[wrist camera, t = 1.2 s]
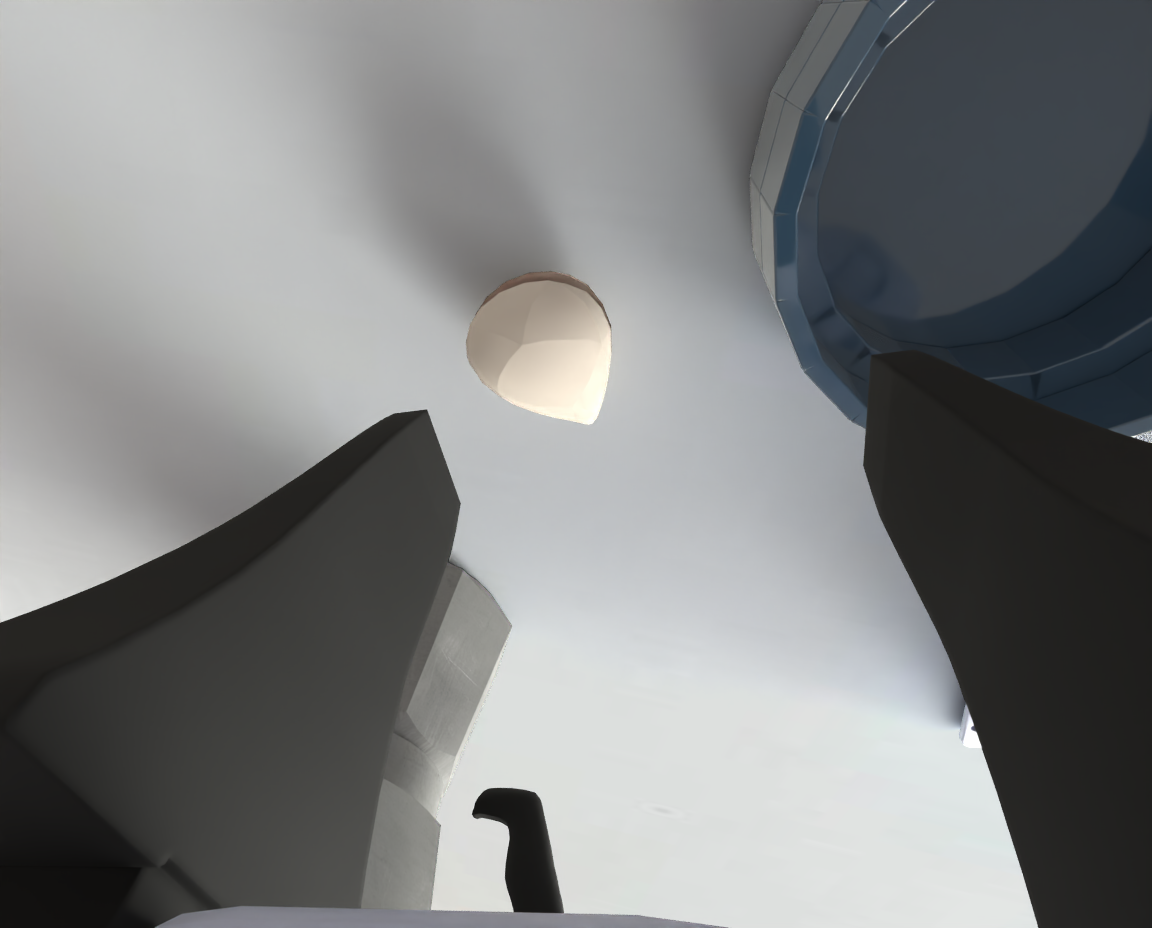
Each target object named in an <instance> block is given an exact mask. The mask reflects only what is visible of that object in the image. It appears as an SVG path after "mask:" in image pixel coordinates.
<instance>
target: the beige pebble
mask: <svg viewBox="0 0 1152 928" xmlns="http://www.w3.org/2000/svg"><path fill="white" fill-rule="evenodd" d="M466 349H467V358H468V361H469V363H470V365H471V366H472V368H473V369H474V371H475V372H476V374H477V375H478V377H479V378H480V380H481V381H482V383H483V384H484V385H486V386H487V387H488V388H490V389H491V390H492V391H493V392H495V393H496V394H497V395H499V396H500V397H502V398H503V399H505V400H507V401H509V402H510V403H512V404H514V405H516V406H518V407H521V408H524V409H527V410H530V411H532V412H535V413H538V414H542V415H546V416H550V417H554V418H558V419H564V420H569V421H574V422H578V423H582V424H592V423H593V422H594V421H595V420H596V418H597V417H598V414H599V411H600V409H601V405H602V402H603V399H604V395H605V390H606V386H607V382H608V377H609V369H610V359H611V324H610V322H609V319H608V317H607V314H606V312H605V309H604V307H603V304H602V303H601V301H600V300H599V299H598V298H597V296H596V295H595V294H594V292H593V291H592V290H591V289H590V287H589V286H588V285H587V284H585V283H583V282H581V281H580V280H578V279H576V278H574V277H573V276H571V275H568V274H563V273H557V272H552V271H549V272H533V273H527V274H524V275H522V276H519V277H517V278H514V279H511V280H509V281H506V282H505V283H503V284H502V285H501V286H500V287H499V288H497V289H496V290H495V291H494V292H492V293H491V294H490V295H489V296H488V297H487V298H486V299H485V301H484V302H483V304H482V305H481V307H480V309H479V310H478V312H477V313H476V315H475V317H474V319H473V321H472V322H471V324H470V327H469V331H468V336H467V341H466Z"/></svg>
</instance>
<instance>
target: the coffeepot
mask: <svg viewBox="0 0 1152 928" xmlns="http://www.w3.org/2000/svg"><path fill="white" fill-rule="evenodd" d="M511 628H512V625H511V623H510V622H509V620H508V619H507V617H506V616H505V614H504V613H503V611H502V610H501V608H500V607H499V605H498V604H497V603H496V601H495V600H494V598H493V597H492V595H491V594H490V593H489V592H488V591H487V590H486V589H485V588H484V587H483V586H482V585H481V584H480V583H479V582H478V581H477V580H475V579H474V578H473V577H471V576H470V575H468V574H467V573H466V572H465V571H464V570H463V569H461V568H459V567H456V566H454V565H452V564H450V563H447V566H446V568H445V571H444V574H443V577H442V580H441V582H440V585H439V588H438V591H437V594H436V596H435V599H434V602H433V604H432V607H431V610H430V613H429V615H428V618H427V621H426V624H425V626H424V629H423V632H422V634H421V637H420V640H419V643H418V645H417V648H416V651H415V654H414V656H413V659H412V662H411V665H410V669H409V672H408V675H407V678H406V681H405V685H404V689H403V693H402V697H401V701H400V705H399V709H398V714H397V718H396V722H395V726H394V730H393V734H392V738H391V743H390V748H389V753H388V757H387V762H386V767H385V772H384V776H383V781H382V786H381V791H380V795H379V801H378V806H377V812H376V818H375V823H374V829H373V835H372V840H371V846H370V852H369V857H368V863H367V869H366V876H365V883H364V890H363V897H362V904H361V909H393V910H431V903H432V895H433V886H434V878H435V869H436V861H437V852H438V844H439V835H440V827H441V825H440V824H439V823H438V822H437V821H436V817H437V813H438V810H439V806H440V803H441V799H442V797H444V796H445V793H446V791H447V789H448V786H449V784H450V782H451V779H452V777H453V775H454V773H455V770H456V768H457V766H458V763H459V761H460V759H461V756H462V754H463V752H464V749H465V747H466V745H467V742H468V740H469V738H470V736H471V733H472V731H473V729H474V726H475V724H476V722H477V719H478V717H479V715H480V712H481V710H482V708H483V705H484V703H485V701H486V698H487V696H488V694H489V692H490V689H491V687H492V685H493V682H494V680H495V678H496V675H497V672H498V669H499V666H500V662H501V659H502V656H503V653H504V650H505V647H506V643H507V640H508V637H509V634H510V631H511ZM472 815H473V817H474V818H476V819H478V818H486V819H491V820H495V821H498V822H502V823H503V824H505V825H506V826H508V828H509V836H510V840H509V846H508V852H507V859H506V868H505V880H506V885H507V889H508V893H509V896H510V899H511V902H512V906H513V910H514V912H522V913H564V910H563V904H562V899H561V895H560V891H559V886H558V880H557V876H556V872H555V867H554V862H553V856H552V850H551V845H550V840H549V835H548V830H547V826H546V821H545V816H544V812H543V807H542V803H541V800H540V798H539V797H538V796H537V794H536V793H534V792H531V791H527V790H521V789H514V788H490V789H487V790H485V791H484V792H482V794H481V795H480V796H479V797H478V799H477V801H476V803H475V806H474V809H473V812H472Z"/></svg>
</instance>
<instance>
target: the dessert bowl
mask: <svg viewBox="0 0 1152 928" xmlns="http://www.w3.org/2000/svg"><path fill="white" fill-rule="evenodd" d="M772 90H773V91H771V93H770V96H769V100H768V104H767V108H766V112H765V115H764V119H763V123H762V127H761V131H760V135H759V139H758V143H757V147H756V150H755V154H754V158H753V162H752V166H751V170H750V178H749V183H750V206H751V229H752V247H753V252H754V255H755V257H756V260H757V262H758V265H759V267H760V270H761V272H762V275H763V277H764V280H765V282H766V285H767V287H768V290H769V292H770V295H771V297H772V300H773V302H774V305H775V307H776V310H777V312H778V314H779V317H780V319H781V321H782V324H783V326H784V328H785V331H786V333H787V335H788V338H789V340H790V343H791V345H792V347H793V350H794V352H795V354H796V357H797V359H798V361H799V364H800V366H801V368H802V370H803V371H804V373H805V374H806V375H807V376H808V377H809V378H810V379H811V380H812V381H813V382H814V384H815V385H816V386H817V387H818V388H819V389H820V390H821V391H822V392H823V393H824V394H825V395H826V396H827V397H828V398H829V399H830V400H831V401H832V403H833V404H834V405H835V406H836V407H837V408H838V409H839V410H840V411H841V412H842V413H843V414H844V415H845V416H846V417H847V418H848V419H849V420H851V421H852V422H853V423H855V424H857V425H859V426H861V427H863V428H865V429H866V420H867V405H868V390H869V376H870V361H871V355H874V354H882V353H891V352H899V351H907V350H917V351H920V352H923V353H926V354H929V355H931V356H934V357H936V358H939V359H941V360H943V361H946V362H948V363H950V364H952V365H955V366H957V367H959V368H961V369H963V370H966V371H968V372H970V373H972V374H974V375H977V376H979V377H981V378H983V379H985V380H988V381H990V382H992V383H994V384H996V385H999V386H1001V387H1003V388H1005V389H1008V390H1010V391H1012V392H1014V393H1017V394H1019V395H1021V396H1024V397H1026V398H1028V399H1031V400H1033V401H1036V402H1038V403H1040V404H1043V405H1045V406H1048V407H1050V408H1053V409H1055V410H1058V411H1060V412H1063V413H1066V414H1068V415H1071V416H1074V417H1076V418H1079V419H1081V420H1084V421H1087V422H1089V423H1092V424H1095V425H1097V426H1100V427H1103V428H1106V429H1108V430H1111V431H1114V432H1117V433H1120V434H1123V435H1126V436H1129V437H1135V436H1138V435H1141V434H1144V433H1148V432H1151V431H1152V0H823V1H822V3H821V4H820V5H819V6H818V8H817V10H816V12H815V13H814V15H813V17H812V19H811V21H810V22H809V24H808V26H807V28H806V29H805V31H804V33H803V35H802V36H801V38H800V40H799V42H798V44H797V45H796V47H795V49H794V51H793V52H792V54H791V56H790V58H789V60H788V61H787V63H786V65H785V67H784V68H783V70H782V72H781V74H780V76H779V77H778V79H777V81H776V83H775V84H774V86H773V89H772Z"/></svg>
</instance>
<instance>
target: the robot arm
mask: <svg viewBox="0 0 1152 928" xmlns="http://www.w3.org/2000/svg"><path fill="white" fill-rule="evenodd" d="M863 466H864V469H865V472H866V476H867V479H868V482H869V485H870V489H871V492H872V495H873V498H874V501H875V504H876V507H877V510H878V513H879V516H880V518H881V520H882V522H883V524H884V526H885V529H886V531H887V533H888V535H889V537H890V539H891V541H892V543H893V545H894V547H895V549H896V551H897V553H898V555H899V557H900V559H901V561H902V563H903V565H904V567H905V569H906V571H907V573H908V575H909V577H910V579H911V580H912V582H913V584H914V586H915V588H916V590H917V592H918V594H919V596H920V598H921V600H922V602H923V604H924V606H925V608H926V610H927V612H928V614H929V616H930V618H931V620H932V622H933V624H934V626H935V628H936V630H937V632H938V634H939V636H940V639H941V641H942V643H943V645H944V648H945V650H946V652H947V654H948V657H949V659H950V661H951V664H952V667H953V669H954V672H955V675H956V678H957V680H958V683H959V686H960V688H961V691H962V694H963V697H964V699H965V702H966V704H965V709H964V713H963V718H962V723H961V727H960V732H959V737H960V740H961V742H962V744H963V745H965V746H968V747H982V750H983V753H984V756H985V759H986V762H987V765H988V768H989V771H990V774H991V776H992V779H993V782H994V785H995V788H996V791H997V794H998V797H999V801H1000V804H1001V807H1002V810H1003V813H1004V816H1005V819H1006V823H1007V826H1008V829H1009V832H1010V835H1011V838H1012V842H1013V845H1014V848H1015V851H1016V854H1017V857H1018V860H1019V864H1020V867H1021V870H1022V873H1023V876H1024V880H1025V883H1026V887H1027V890H1028V894H1029V897H1030V900H1031V904H1032V907H1033V911H1034V914H1035V918H1036V921H1037V924H1038V928H1152V443H1149V442H1145V441H1142V440H1139V439H1136V438H1132V437H1129V436H1126V435H1123V434H1120V433H1117V432H1114V431H1111V430H1108V429H1106V428H1103V427H1100V426H1097V425H1095V424H1092V423H1089V422H1087V421H1084V420H1081V419H1079V418H1076V417H1074V416H1071V415H1068V414H1066V413H1063V412H1060V411H1058V410H1055V409H1053V408H1050V407H1048V406H1045V405H1043V404H1040V403H1038V402H1036V401H1033V400H1031V399H1028V398H1026V397H1024V396H1021V395H1019V394H1017V393H1014V392H1012V391H1010V390H1008V389H1005V388H1003V387H1001V386H999V385H996V384H994V383H992V382H990V381H988V380H985V379H983V378H981V377H979V376H977V375H974V374H972V373H970V372H968V371H966V370H963V369H961V368H959V367H957V366H955V365H952V364H950V363H948V362H946V361H943V360H941V359H939V358H936V357H934V356H931V355H929V354H926V353H923V352H920V351H917V350H907V351H899V352H891V353H882V354H874V355H871V361H870V376H869V390H868V405H867V420H866V434H865V449H864V463H863ZM460 504H461V503H460V500H459V498H458V495H457V492H456V489H455V486H454V484H453V481H452V478H451V475H450V472H449V470H448V467H447V464H446V461H445V458H444V456H443V453H442V450H441V447H440V444H439V442H438V439H437V436H436V433H435V430H434V428H433V425H432V422H431V419H430V416H429V414H428V411H427V410H419V411H411V412H403V413H395V414H392V415H390V416H388V417H386V418H384V419H383V420H381V421H379V422H378V423H376V424H374V425H373V426H371V427H370V428H368V429H367V430H365V431H363V432H362V433H361V434H359V435H358V436H356V437H355V438H353V439H352V440H350V441H349V442H347V443H346V444H345V445H343V446H342V447H340V448H339V449H337V450H336V451H335V452H333V453H332V454H330V455H329V456H327V457H326V458H325V459H323V460H322V461H320V462H319V463H317V464H316V465H315V466H313V467H312V468H310V469H309V470H307V471H306V472H305V473H303V474H302V475H300V476H299V477H297V478H295V479H294V480H292V481H291V482H289V483H288V484H286V485H285V486H283V487H282V488H280V489H279V490H277V491H276V492H274V493H273V494H271V495H269V496H268V497H266V498H265V499H263V500H262V501H260V502H259V503H257V504H256V505H254V506H253V507H251V508H249V509H248V510H246V511H244V512H243V513H241V514H239V515H238V516H236V517H234V518H233V519H231V520H229V521H227V522H226V523H224V524H222V525H220V526H219V527H217V528H215V529H213V530H211V531H209V532H208V533H206V534H204V535H202V536H200V537H198V538H197V539H195V540H193V541H191V542H189V543H187V544H185V545H183V546H181V547H179V548H177V549H175V550H173V551H171V552H169V553H167V554H165V555H163V556H160V557H158V558H156V559H154V560H152V561H150V562H148V563H146V564H143V565H141V566H139V567H137V568H135V569H133V570H131V571H129V572H126V573H124V574H122V575H120V576H118V577H116V578H114V579H111V580H109V581H107V582H104V583H102V584H100V585H97V586H95V587H92V588H90V589H87V590H85V591H83V592H80V593H78V594H75V595H73V596H70V597H68V598H65V599H63V600H60V601H58V602H55V603H52V604H50V605H47V606H45V607H42V608H39V609H37V610H34V611H32V612H29V613H26V614H23V615H21V616H18V617H15V618H12V619H10V620H7V621H4V622H1V623H0V928H727V927H719V926H712V925H705V924H698V923H690V922H683V921H676V920H668V919H661V918H654V917H646V916H639V915H608V914H565V913H522V912H479V911H436V910H393V909H361V904H362V897H363V890H364V883H365V876H366V869H367V863H368V857H369V852H370V846H371V840H372V835H373V829H374V823H375V818H376V812H377V806H378V801H379V795H380V791H381V786H382V781H383V776H384V772H385V767H386V762H387V757H388V753H389V748H390V743H391V738H392V734H393V730H394V726H395V722H396V718H397V714H398V709H399V705H400V701H401V697H402V693H403V689H404V685H405V681H406V678H407V675H408V672H409V669H410V665H411V662H412V659H413V656H414V654H415V651H416V648H417V645H418V643H419V640H420V637H421V634H422V632H423V629H424V626H425V624H426V621H427V618H428V615H429V613H430V610H431V607H432V604H433V602H434V599H435V596H436V594H437V591H438V588H439V585H440V582H441V580H442V577H443V574H444V571H445V568H446V566H447V563H448V560H449V557H450V554H451V550H452V546H453V541H454V537H455V532H456V527H457V521H458V515H459V510H460Z"/></svg>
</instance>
